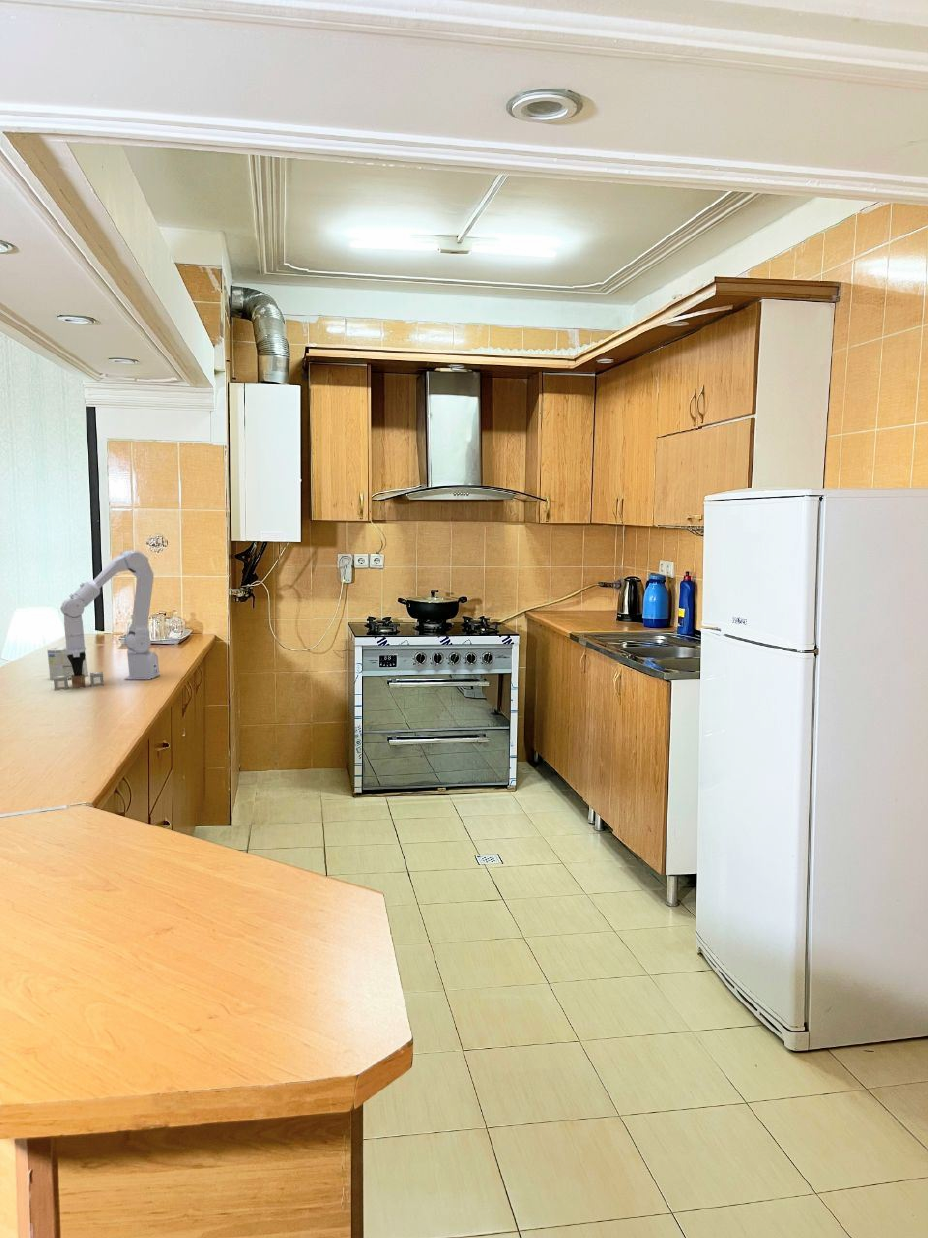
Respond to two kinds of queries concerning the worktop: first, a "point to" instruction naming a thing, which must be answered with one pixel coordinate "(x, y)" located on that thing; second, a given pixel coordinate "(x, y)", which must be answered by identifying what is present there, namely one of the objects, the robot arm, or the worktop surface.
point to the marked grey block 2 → (96, 678)
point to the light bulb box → (62, 663)
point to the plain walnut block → (78, 681)
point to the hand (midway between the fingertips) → (78, 675)
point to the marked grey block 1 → (60, 682)
